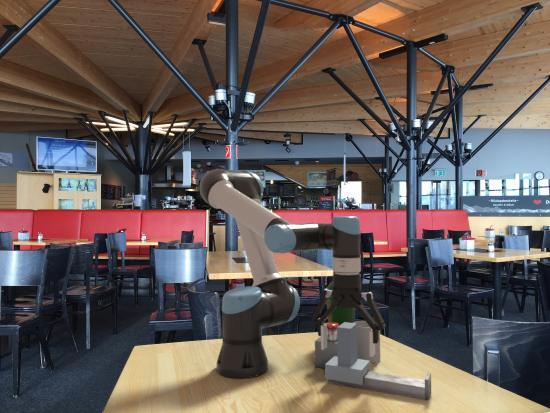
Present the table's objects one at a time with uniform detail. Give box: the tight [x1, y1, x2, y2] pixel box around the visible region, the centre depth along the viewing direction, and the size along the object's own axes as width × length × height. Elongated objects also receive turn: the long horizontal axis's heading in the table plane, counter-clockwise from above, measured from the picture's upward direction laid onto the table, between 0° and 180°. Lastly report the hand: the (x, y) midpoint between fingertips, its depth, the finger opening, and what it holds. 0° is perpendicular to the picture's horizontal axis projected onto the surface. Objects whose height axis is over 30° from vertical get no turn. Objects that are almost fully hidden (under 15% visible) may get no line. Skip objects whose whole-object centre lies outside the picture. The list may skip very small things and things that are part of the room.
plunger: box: [325, 322, 339, 342], centre depth 129 cm, size 4×4×9 cm
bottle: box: [326, 270, 356, 326], centre depth 151 cm, size 11×11×28 cm
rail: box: [326, 370, 432, 401], centre depth 112 cm, size 26×5×5 cm, turn 63°
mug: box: [354, 320, 381, 365], centre depth 136 cm, size 12×8×11 cm
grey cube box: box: [314, 336, 338, 371], centre depth 129 cm, size 8×8×8 cm
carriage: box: [324, 322, 371, 385], centre depth 116 cm, size 10×8×14 cm
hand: (347, 351), depth 116 cm, fingers open, 13 cm apart
